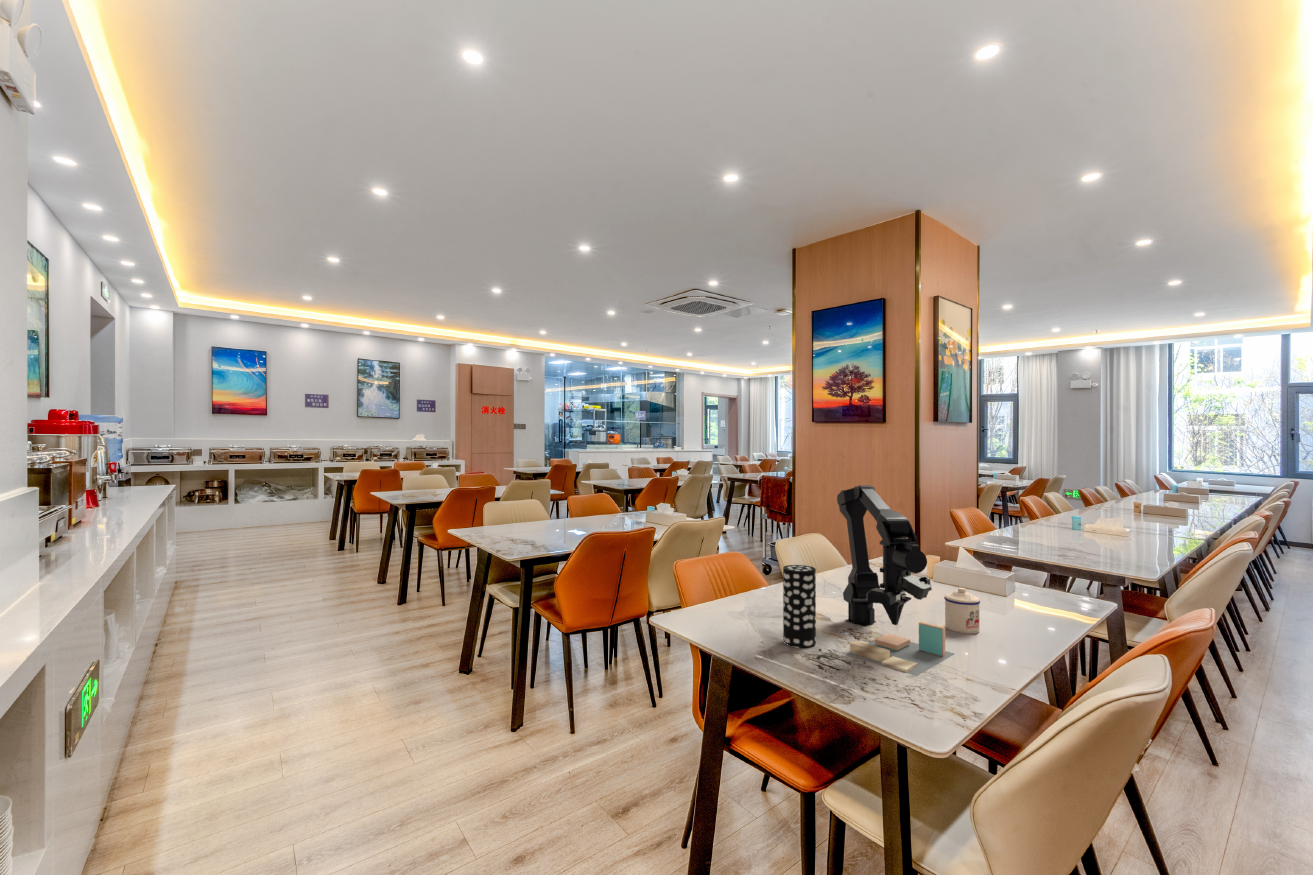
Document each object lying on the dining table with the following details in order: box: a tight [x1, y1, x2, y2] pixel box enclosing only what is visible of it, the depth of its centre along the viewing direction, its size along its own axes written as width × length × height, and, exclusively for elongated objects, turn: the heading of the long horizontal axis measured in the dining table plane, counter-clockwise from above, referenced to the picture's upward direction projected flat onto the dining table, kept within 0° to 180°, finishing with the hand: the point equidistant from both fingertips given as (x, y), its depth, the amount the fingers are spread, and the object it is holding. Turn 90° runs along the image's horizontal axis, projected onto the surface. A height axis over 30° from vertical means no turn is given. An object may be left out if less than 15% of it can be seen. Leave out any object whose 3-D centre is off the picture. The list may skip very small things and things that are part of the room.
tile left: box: [874, 633, 911, 651], centre depth 147 cm, size 6×2×7 cm
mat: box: [844, 639, 956, 677], centre depth 142 cm, size 18×21×1 cm
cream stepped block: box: [849, 640, 917, 673], centre depth 137 cm, size 15×6×2 cm, turn 41°
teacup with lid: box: [943, 587, 981, 635], centre depth 163 cm, size 12×9×12 cm
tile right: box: [918, 621, 946, 657], centre depth 142 cm, size 6×2×7 cm, turn 41°
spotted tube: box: [782, 564, 817, 649], centre depth 150 cm, size 8×8×20 cm
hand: (894, 624), depth 148 cm, fingers closed
